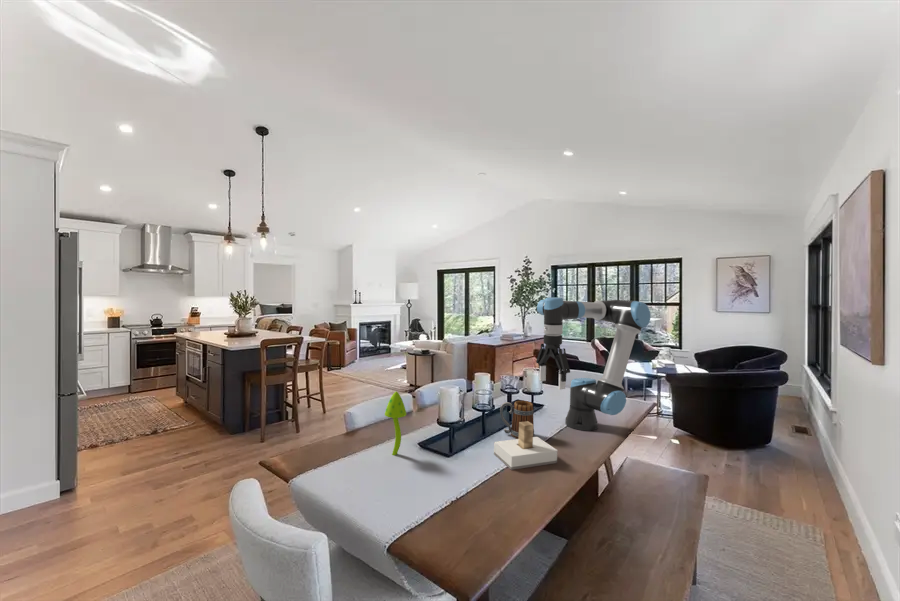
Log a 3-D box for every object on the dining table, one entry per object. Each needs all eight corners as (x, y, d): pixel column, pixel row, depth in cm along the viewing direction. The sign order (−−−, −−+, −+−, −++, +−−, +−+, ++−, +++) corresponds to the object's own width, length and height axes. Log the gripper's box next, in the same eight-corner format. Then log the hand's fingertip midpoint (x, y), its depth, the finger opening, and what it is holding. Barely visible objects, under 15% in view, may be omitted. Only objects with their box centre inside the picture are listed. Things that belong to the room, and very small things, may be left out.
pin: (526, 453, 162) (527, 421, 162) (531, 457, 159) (533, 424, 158) (517, 454, 161) (519, 422, 160) (523, 458, 157) (524, 425, 157)
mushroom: (388, 448, 164) (389, 387, 163) (407, 451, 163) (409, 389, 162) (380, 457, 156) (382, 393, 155) (401, 460, 155) (403, 395, 153)
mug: (532, 432, 188) (534, 400, 187) (535, 441, 177) (536, 407, 177) (498, 430, 190) (500, 398, 189) (499, 438, 179) (500, 405, 178)
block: (536, 448, 170) (537, 436, 170) (556, 462, 157) (557, 450, 157) (493, 454, 163) (494, 441, 163) (511, 469, 150) (511, 456, 149)
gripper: (528, 330, 179) (528, 378, 181) (564, 339, 156) (563, 393, 158) (543, 330, 182) (542, 376, 184) (580, 338, 159) (578, 391, 160)
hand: (551, 384), depth 171 cm, fingers open, 13 cm apart
